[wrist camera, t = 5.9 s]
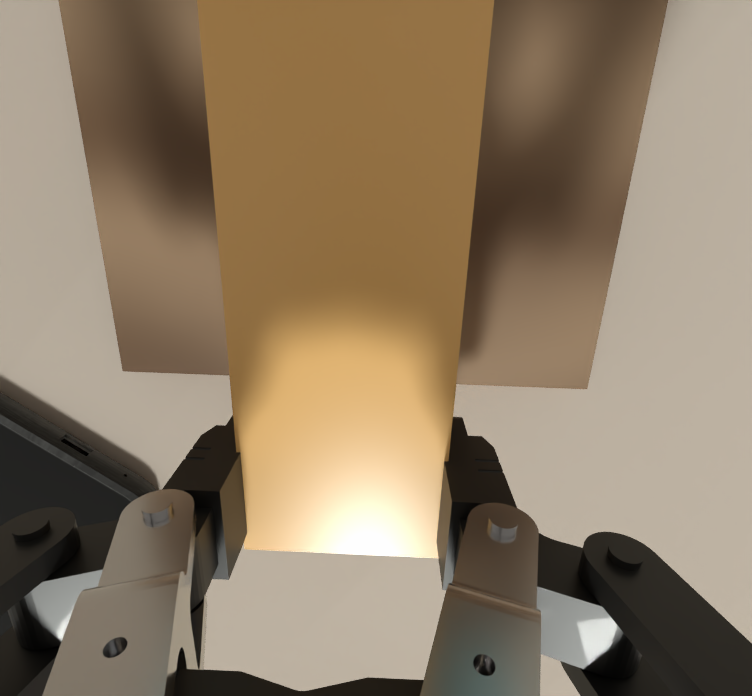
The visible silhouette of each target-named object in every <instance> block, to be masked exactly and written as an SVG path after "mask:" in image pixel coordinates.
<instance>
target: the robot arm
mask: <svg viewBox="0 0 752 696" xmlns="http://www.w3.org/2000/svg"><path fill="white" fill-rule="evenodd" d="M246 535H247V524H246V512H245V500H244V488H243V476H242V464H241V452H236V443H235V432H234V420H233V416H232V417H231V419H230V420H229V422H228V423H227V425H226V426H219V425H216V426H215V427H213V428H212V429H210V430H209V431H207V432H206V433H204V434H202V435H201V436H200V438H199V439H198V441H197V442H196V443H195V445H194V446H193V449H191V450H190V452H189V453H188V454H187V456H186V459H184V460H183V461H182V463H181V464H180V465H179V467H178V468H177V470H176V471H175V472H174V474H173V475H172V477H171V478H170V479H169V481H168V482H167V484H166V485H165V486H164V488H163V489H162V490H158V491H154V492H150V493H147V494H145V495H143V496H141V497H139V498H137V499H135V500H134V501H132V502H131V503H130V504H128V505H127V506H126V507H125V509H124V510H123V511H122V513H121V515H120V518H119V519H118V520H114V521H109V522H103V523H97V524H92V525H86V526H80V527H77V523H76V519H75V515H74V514H73V512H71V511H70V510H68V509H66V508H61V507H47V508H41V509H37V510H33V511H30V512H27V513H24V514H22V515H19V516H17V517H15V518H13V519H11V520H9V521H8V522H6V523H4V524H3V525H1V526H0V616H1V615H3V614H4V613H5V612H6V611H8V613H9V616H10V619H11V622H12V625H13V626H12V627H11V628H10V629H8V630H7V631H6V632H5V633H4V634H3V635H1V636H0V696H540V662H541V654H542V655H545V656H548V657H551V658H553V659H556V660H559V661H561V664H562V666H563V668H564V670H565V672H566V673H567V675H568V676H569V678H570V680H571V681H572V683H573V684H574V686H575V687H576V689H577V691H578V692H579V694H580V695H581V696H752V643H750V642H749V641H748V640H747V639H746V638H745V637H744V636H743V635H742V634H741V633H740V632H739V631H738V630H737V629H736V628H734V627H733V626H732V625H731V624H730V623H729V622H728V621H727V620H726V619H725V618H724V617H723V616H722V615H721V614H720V613H718V612H717V611H716V610H715V609H714V608H713V607H712V606H711V605H710V604H709V603H708V602H707V601H706V600H705V599H704V598H702V597H701V596H700V595H699V594H698V593H697V592H696V591H695V590H694V589H693V588H692V587H691V586H690V585H689V584H688V583H686V582H685V581H684V580H683V579H682V578H681V577H680V576H679V575H678V574H677V573H676V572H675V571H674V570H673V569H672V568H671V567H669V566H668V565H667V564H666V563H665V562H664V561H663V560H662V559H661V558H660V557H659V556H658V555H657V554H656V553H655V552H653V551H652V550H651V549H650V548H648V547H647V546H646V545H644V544H643V543H641V542H639V541H637V540H635V539H633V538H631V537H628V536H625V535H622V534H618V533H612V532H598V533H595V534H592V535H590V536H589V537H588V538H587V539H586V540H585V542H584V546H583V548H581V547H577V546H573V545H570V544H566V543H562V542H559V541H556V540H553V539H550V538H548V537H545V536H543V535H541V534H540V533H539V532H538V528H537V525H536V524H535V522H534V521H533V520H532V518H531V517H529V516H528V515H527V514H526V513H524V512H523V511H521V510H519V509H518V508H517V507H516V504H515V501H514V499H513V496H512V494H511V491H510V488H509V486H508V483H507V481H506V478H505V475H504V473H503V470H502V467H501V465H500V463H499V460H498V457H497V454H496V452H495V449H494V447H493V446H492V445H491V444H489V443H488V442H487V441H486V440H485V439H484V438H483V437H482V436H468V435H467V431H466V428H465V425H464V421H463V418H462V417H453V421H452V431H451V441H450V451H449V461H444V469H443V479H442V490H441V500H440V510H439V521H438V531H437V550H438V558H439V565H440V573H441V581H442V589H443V590H446V594H445V598H444V602H443V606H442V610H441V614H440V618H439V622H438V626H437V630H436V634H435V638H434V642H433V646H432V650H431V654H430V658H429V662H428V666H427V670H426V673H425V677H424V680H407V679H386V678H364V679H359V680H355V681H350V682H346V683H341V684H337V685H332V686H327V687H323V688H318V689H314V690H309V691H297V690H293V689H290V688H287V687H284V686H282V685H279V684H276V683H273V682H270V681H267V680H264V679H261V678H258V677H255V676H252V675H250V674H247V673H244V672H240V671H219V670H204V654H205V635H206V617H207V598H206V592H207V589H208V587H209V585H210V583H211V580H212V579H227V580H229V578H230V575H231V573H232V570H233V568H234V565H235V563H236V560H237V558H238V555H239V553H240V550H241V548H242V545H243V543H244V540H245V538H246Z"/></svg>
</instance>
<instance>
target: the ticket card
mask: <svg viewBox="0 0 752 696" xmlns="http://www.w3.org/2000/svg"><path fill="white" fill-rule="evenodd" d="M197 6H198V18H199V29H200V41H201V52H202V64H203V75H204V87H205V98H206V110H207V121H208V133H209V144H210V156H211V167H212V179H213V190H214V202H215V213H216V225H217V236H218V248H219V259H220V271H221V282H222V294H223V305H224V317H225V328H226V340H227V351H228V363H229V374H230V386H231V397H232V409H233V420H234V432H235V443H236V452H241V464H242V476H243V488H244V500H245V512H246V524H247V535H246V538H245V540H244V547H245V549H251V550H272V551H294V552H315V553H336V554H358V555H379V556H400V557H422V558H438V550H437V531H438V521H439V510H440V500H441V490H442V479H443V469H444V461H449V451H450V441H451V431H452V421H453V410H454V400H455V390H456V380H457V370H458V360H459V350H460V340H461V330H462V320H463V310H464V300H465V290H466V280H467V270H468V259H469V249H470V239H471V229H472V219H473V209H474V199H475V189H476V179H477V169H478V159H479V149H480V139H481V129H482V119H483V108H484V98H485V88H486V78H487V68H488V58H489V48H490V38H491V28H492V18H493V8H494V0H197Z"/></svg>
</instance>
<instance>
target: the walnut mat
mask: <svg viewBox="0 0 752 696" xmlns="http://www.w3.org/2000/svg"><path fill="white" fill-rule="evenodd" d="M667 3H668V0H494V8H493V18H492V28H491V38H490V48H489V58H488V68H487V78H486V88H485V98H484V108H483V119H482V129H481V139H480V149H479V159H478V169H477V179H476V189H475V199H474V209H473V219H472V229H471V239H470V249H469V259H468V270H467V280H466V290H465V300H464V310H463V320H462V330H461V340H460V350H459V360H458V370H457V380H456V384H467V385H493V386H519V387H545V388H571V389H587V387H588V382H589V377H590V373H591V368H592V363H593V358H594V354H595V349H596V344H597V339H598V334H599V330H600V325H601V320H602V315H603V310H604V306H605V301H606V296H607V291H608V286H609V282H610V277H611V272H612V267H613V262H614V258H615V253H616V248H617V243H618V238H619V234H620V229H621V224H622V219H623V214H624V210H625V205H626V200H627V195H628V190H629V186H630V181H631V176H632V171H633V166H634V162H635V157H636V152H637V147H638V142H639V138H640V133H641V128H642V123H643V118H644V114H645V109H646V104H647V99H648V94H649V90H650V85H651V80H652V75H653V71H654V66H655V61H656V56H657V51H658V47H659V42H660V37H661V32H662V27H663V23H664V18H665V13H666V8H667ZM59 6H60V11H61V17H62V23H63V29H64V34H65V40H66V46H67V52H68V57H69V63H70V69H71V75H72V81H73V86H74V92H75V98H76V104H77V109H78V115H79V121H80V127H81V132H82V138H83V144H84V150H85V156H86V161H87V167H88V173H89V179H90V184H91V190H92V196H93V202H94V208H95V213H96V219H97V225H98V231H99V236H100V242H101V248H102V254H103V259H104V265H105V271H106V277H107V283H108V288H109V294H110V300H111V306H112V311H113V317H114V323H115V329H116V334H117V340H118V346H119V352H120V358H121V363H122V369H123V371H131V372H157V373H182V374H208V375H230V374H229V363H228V351H227V340H226V328H225V317H224V305H223V294H222V282H221V271H220V259H219V248H218V236H217V225H216V213H215V202H214V190H213V179H212V167H211V156H210V144H209V133H208V121H207V110H206V98H205V87H204V75H203V64H202V52H201V41H200V29H199V18H198V6H197V0H59Z"/></svg>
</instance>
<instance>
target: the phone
mask: <svg viewBox="0 0 752 696" xmlns="http://www.w3.org/2000/svg"><path fill="white" fill-rule="evenodd" d="M63 439H66V440H68V441H69V442H71V443H73V444H74V445H76V446H78V447H79V448H81V449H83V450H84V451H86V452H87V453H89V454H88V455H87V456H85V455H83V454H81V453H80V452H78V451H76V450H75V449H73V448H71V447H70V446H68V445H66V444H64V443H63V442H61V440H63ZM124 474H126V475H127V477H125V476H123V475H124ZM154 491H157V490H156V489H155V488H154V486H153V485H151V484H150V483H149V482H148V481H146V480H145V479H144V478H142V477H140V476H139V475H137V474H135V473H134V472H132V471H130V470H129V469H127V468H125V467H124V466H122V465H120V464H119V463H117V462H115V461H114V460H112V459H110V458H109V457H107V456H105V455H104V454H102V453H100V452H99V451H97V450H95V449H94V448H92V447H90V446H89V445H87V444H85V443H84V442H82V441H80V440H79V439H77V438H75V437H74V436H72V435H70V434H69V433H67V432H65V431H64V430H62V429H60V428H59V427H57V426H55V425H54V424H52V423H50V422H49V421H47V420H45V419H44V418H42V417H40V416H39V415H37V414H35V413H34V412H32V411H30V410H29V409H27V408H25V407H24V406H22V405H20V404H19V403H17V402H15V401H14V400H12V399H10V398H9V397H7V396H5V395H4V394H2V393H0V526H1V525H3V524H4V523H6V522H8V521H9V520H11V519H13V518H15V517H17V516H19V515H22V514H24V513H27V512H30V511H33V510H37V509H41V508H47V507H61V508H66V509H68V510H70V511H71V512H73V514H74V515H75V519H76V523H77V527H80V526H86V525H92V524H97V523H103V522H109V521H114V520H118V519H119V518H120V515H121V513H122V511H123V510H124V509H125V507H126V506H127V505H128V504H130V503H131V502H132V501H134V500H135V499H137V498H139V497H141V496H143V495H145V494H147V493H150V492H154ZM12 626H13V625H12V622H11V619H10V616H9V613H8V611H6V612H5V613H4V614H3V615H1V616H0V636H1V635H3V634H4V633H5V632H6V631H7V630H8V629H10V628H11V627H12Z"/></svg>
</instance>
